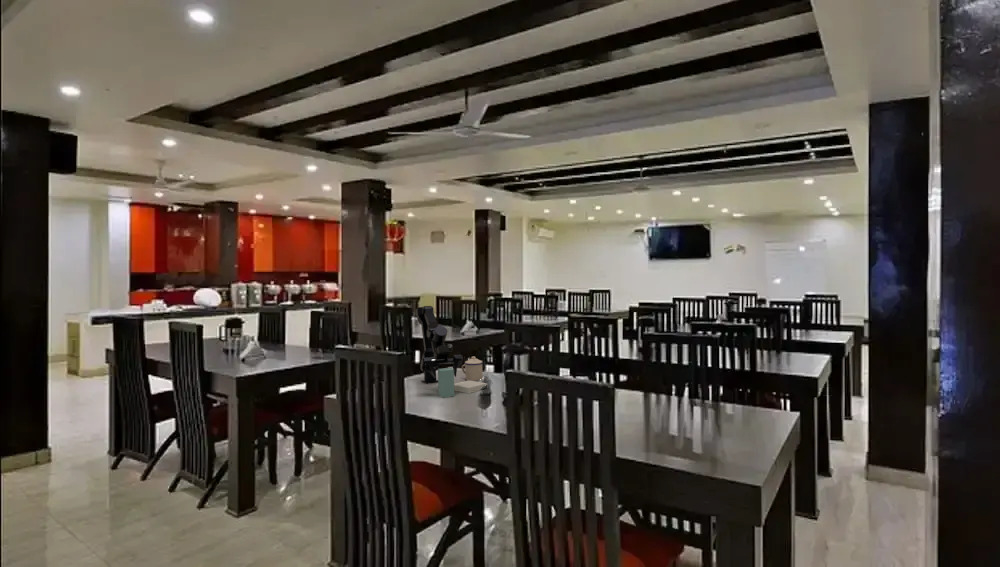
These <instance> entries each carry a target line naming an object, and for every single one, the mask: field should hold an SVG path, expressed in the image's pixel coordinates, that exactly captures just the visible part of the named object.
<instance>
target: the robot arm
mask: <svg viewBox="0 0 1000 567" xmlns="http://www.w3.org/2000/svg"><path fill="white" fill-rule="evenodd" d="M414 312H415V313H414V314H415V317H416V318H417V320H416V321H417V322H418V323H419V324H420V326H421V335H422V341H423V347H424V348H423V349H424V353H423V354H422V358H421V360H420V370H421V372H423V379H424V380H421V382H422V383H424V382H425V384H434V383H438V379H437V371H438V369H440V367H441V366H440V365H445V364H452V369H453V370H454V378H455V377H457V370H458V368H460V367H462V366H463V361H464V356H463V355H462V354H453V357H452V358H449V356H450V354H449V353H452V352H453V351H454V348H453V344H451V343H448V344H446V345H445V342H446V339H447V335H448V332H449V331H448V329H447V327H445V326H443V324H440V323H438V322H437V319H436V315H435V313H434V312H435V311H434V307H433V306H432V305H423V306H418V307H417V308H416V309H415V311H414Z"/></svg>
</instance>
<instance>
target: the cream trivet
mask: <svg viewBox="0 0 1000 567" xmlns="http://www.w3.org/2000/svg"><path fill="white" fill-rule="evenodd" d="M486 385H487V386H488V383H485V382H482V381H481V382H480V381H471V380H468V381H467V380H465V381H461V382H457V383H456V382H454V392H460V393H466V394H471V393H475V392H480V391H481V390H480V389H481V388H482V387H483V386H486ZM479 390H480V391H479Z"/></svg>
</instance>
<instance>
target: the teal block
mask: <svg viewBox="0 0 1000 567" xmlns="http://www.w3.org/2000/svg"><path fill="white" fill-rule="evenodd" d="M437 380H438V382H437V385H438V388H437V390H438V391H437V392H438V396H439V397H440V396H441V397H444V398H450V397H449V396H453V397H455V391H454V384H455V376H454V370H453V367H444V368H439V369H438V370H437ZM441 397H440V398H441Z"/></svg>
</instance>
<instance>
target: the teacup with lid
mask: <svg viewBox="0 0 1000 567" xmlns="http://www.w3.org/2000/svg"><path fill="white" fill-rule="evenodd" d="M483 363H484V362H483V360H480V359H478V358H476V356H471V358H470V359H468V360H465V361H464V364H462V365H461V371H462V373H463V374H464V375H465V381H468V380H471V381H476V382H480V381H481V380H480V379H482V378H483V376H484V375H483ZM479 380H480V381H479ZM482 380H483V379H482Z"/></svg>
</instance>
